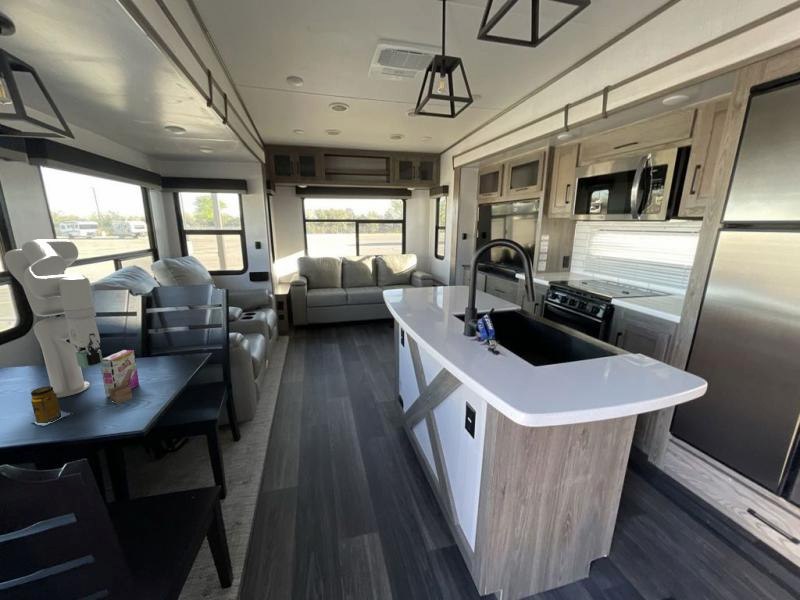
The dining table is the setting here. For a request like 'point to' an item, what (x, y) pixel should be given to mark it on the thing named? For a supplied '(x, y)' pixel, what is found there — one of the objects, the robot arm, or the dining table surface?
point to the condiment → (45, 405)
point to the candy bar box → (119, 370)
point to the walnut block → (120, 393)
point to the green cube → (83, 359)
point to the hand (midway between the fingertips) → (90, 362)
